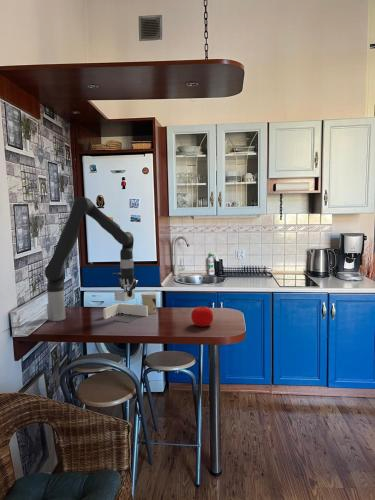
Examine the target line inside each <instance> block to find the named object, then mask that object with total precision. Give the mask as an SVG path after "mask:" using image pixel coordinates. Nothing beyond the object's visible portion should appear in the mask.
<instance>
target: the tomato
mask: <svg viewBox="0 0 375 500" xmlns="http://www.w3.org/2000/svg"><path fill="white" fill-rule="evenodd" d="M190 315H191V320H192V323H193V324H194V325H195V326H197V327H201V328H202V327H203V328H204V327H208V326H210V325H212V322H213V321H214V314H213V311H212V309H211V308H209V307H208V306H203V305H202V306H197V307H195V308H193V310H192V311H191V314H190Z"/></svg>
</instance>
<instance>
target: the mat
mask: <svg viewBox="0 0 375 500" xmlns="http://www.w3.org/2000/svg"><path fill="white" fill-rule="evenodd" d="M138 318H140V316H139V315H130V314H124V315H123V316H120V317H118V318H116V319H114V320H113V321H114V322H119V323H127V324H128V323H130V322H133V321H135V320H138Z"/></svg>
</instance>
